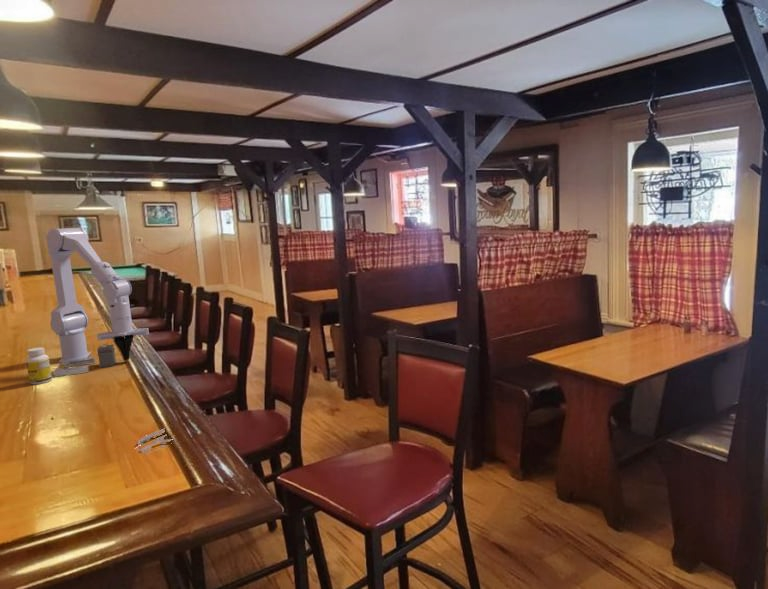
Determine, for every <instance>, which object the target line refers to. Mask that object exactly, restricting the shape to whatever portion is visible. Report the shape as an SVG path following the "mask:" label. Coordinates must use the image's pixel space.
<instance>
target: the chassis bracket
mask: <svg viewBox="0 0 768 589" xmlns="http://www.w3.org/2000/svg"><path fill="white" fill-rule="evenodd" d="M93 363H94V364H96V357H87V358H85V359H77V360H70V361H63V362H60V364H59V365H58V366H57V368H55V370H54V371H53V377H54V378H57V377H59V378H60V377H65V376H71V375H72V376H73V375H78V374H87V373H90V371H89V370H90V365H94V364H93ZM86 364H87V365H86ZM86 372H87V373H86Z"/></svg>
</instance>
